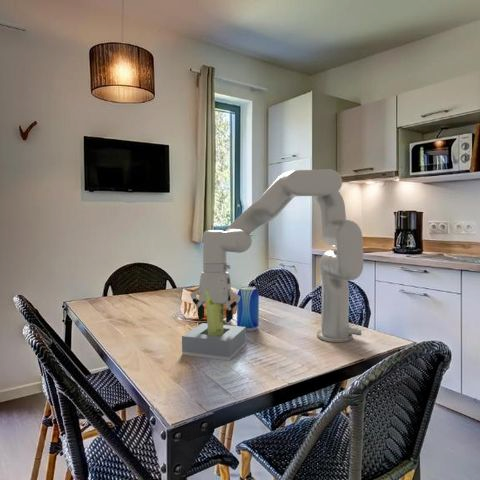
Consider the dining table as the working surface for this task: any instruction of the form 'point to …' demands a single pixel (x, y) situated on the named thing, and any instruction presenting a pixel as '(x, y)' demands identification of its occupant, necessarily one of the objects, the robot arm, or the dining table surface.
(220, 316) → the tube
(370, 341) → the dining table surface
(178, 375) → the dining table surface
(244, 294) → the beer can
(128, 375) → the dining table surface
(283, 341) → the dining table surface
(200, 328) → the well
